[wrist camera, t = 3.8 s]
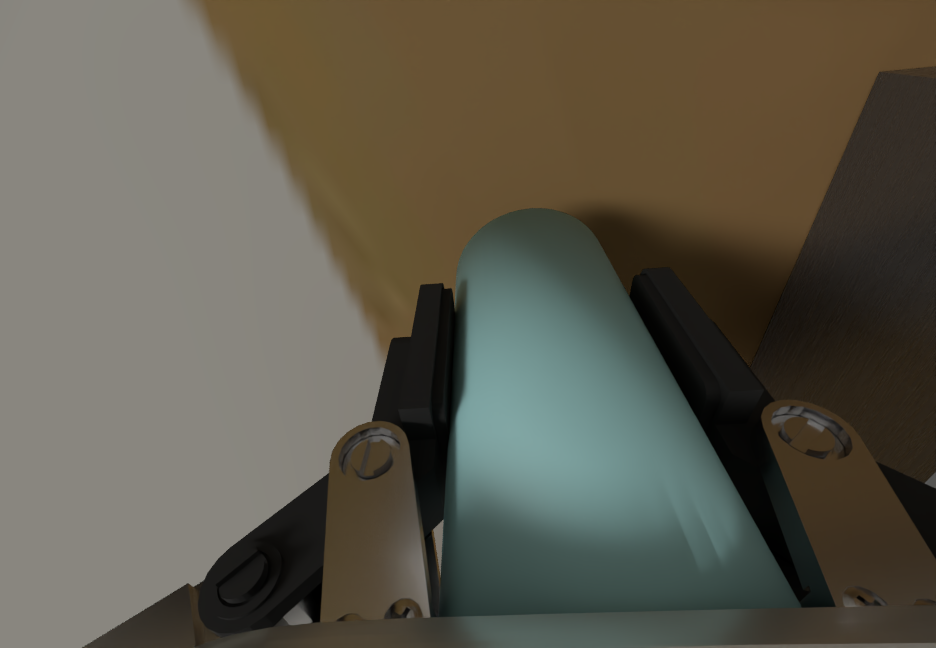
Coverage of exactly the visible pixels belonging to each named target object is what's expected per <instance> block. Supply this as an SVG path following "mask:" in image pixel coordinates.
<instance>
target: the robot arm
mask: <svg viewBox="0 0 936 648" xmlns="http://www.w3.org/2000/svg"><path fill="white" fill-rule="evenodd" d="M630 299H631V301H632V302H633V304H634V306H635V308H636V310H637V311H638V313H639V315H640V317H641V319H642V320H643V322H644V324H645V326H646V328H647V329H648V331H649V333H650V335H651V337H652V338H653V340H654V342H655V344H656V346H657V347H658V349H659V351H660V353H661V355H662V356H663V358H664V360H665V362H666V364H667V365H668V367H669V369H670V371H671V373H672V374H673V376H674V378H675V380H676V382H677V383H678V385H679V387H680V389H681V391H682V392H683V394H684V396H685V398H686V400H687V401H688V403H689V405H690V407H691V409H692V410H693V412H694V414H695V416H696V418H697V419H698V421H699V423H700V425H701V427H702V428H703V430H704V432H705V434H706V436H707V437H708V439H709V441H710V443H711V445H712V446H713V448H714V450H715V452H716V454H717V455H718V457H719V459H720V461H721V463H722V464H723V466H724V468H725V470H726V472H727V473H728V475H729V477H730V479H731V481H732V482H733V484H734V486H735V488H736V490H737V491H738V493H739V495H740V497H741V499H742V500H743V502H744V504H745V506H746V508H747V509H748V511H749V513H750V515H751V517H752V518H753V520H754V522H755V524H756V526H757V527H758V529H759V531H760V533H761V535H762V536H763V538H764V540H765V542H766V544H767V545H768V547H769V549H770V551H771V553H772V554H773V556H774V558H775V560H776V562H777V563H778V565H779V567H780V569H781V571H782V572H783V574H784V576H785V578H786V580H787V581H788V583H789V585H790V587H791V589H792V590H793V592H794V594H795V596H796V598H797V599H798V601H799V603H800V605H801V607H802V608H766V609H724V610H682V611H642V612H603V613H564V614H530V615H496V616H463V617H439V600H440V581H441V578H440V571H439V565H438V559H437V552H436V545H435V538H434V532H433V529H434V528H435V527H436V526H437V525H438V524H439V523H440V522H441V521H442V520H443V519H444V504H445V485H446V466H447V449H448V441H449V429H450V408H451V388H452V368H453V348H454V328H455V308H454V300H453V293H452V289H451V288H450V289H444V285H443V283H439V284H425V285H421V286H420V290H419V296H418V301H417V307H416V312H415V318H414V323H413V329H412V335H411V337H400V338H393V339H392V340H391V343H390V347H389V351H388V355H387V360H386V364H385V368H384V372H383V376H382V381H381V385H380V389H379V393H378V397H377V402H376V406H375V410H374V414H373V418H372V422H367V423H365V424H362V425H359V426H357V427H355V428H353V429H352V430H350V431H349V432H347V433H346V434H345V435H344V436H343V437H342V438H341V439H340V440H339V441H338V442H337V444H336V446H335V447H334V449H333V451H332V454H331V459H330V466H329V467H330V468H329V473H328V474H327V475H326V476H324V477H323V478H322V479H321V480H319V481H318V482H316V483H315V484H314V485H313V486H311V487H310V488H308V489H307V490H306V491H304V492H303V493H302V494H300V495H299V496H298V497H297V498H295V499H294V500H293V501H291V502H290V503H289V504H287V505H286V506H285V507H283V508H282V509H281V510H279V511H278V512H277V513H275V514H274V515H273V516H272V517H270V518H269V519H267V520H266V521H265V522H263V523H262V524H261V525H259V526H258V527H257V528H255V529H254V530H253V531H252V532H250V533H249V534H248V535H246V536H245V537H244V538H242V539H241V540H240V541H238V542H237V543H236V544H234V545H233V546H232V547H230V548H229V549H228V550H227V551H226V552H225V553H224V554H223V555H222V556H221V557H220V558H219V559H218V560H217V561H216V563H215V564H214V565H213V566H212V568H211V569H210V571H209V572H208V573H207V576H206V578H205V580H204V581H202V582H200V583H199V584H197V585H196V586H194V587H193V586H191V585H190V584H189V583H187V584H186V585H184V586H182V587H181V588H179V589H177V590H176V591H174V592H173V593H171V594H169V595H168V596H166V597H164V598H163V599H161V600H159V601H158V602H156V603H154V604H153V605H151V606H150V607H148V608H146V609H144V610H143V611H141V612H140V613H138V614H136V615H135V616H133V617H132V618H130V619H128V620H126V621H125V622H123V623H121V624H120V625H118V626H116V627H115V628H113V629H112V630H110V631H108V632H107V633H105V634H103V635H102V636H100V637H99V638H97V639H95V640H93V641H92V642H90V643H89V644H87V645H85V646H84V647H82V648H936V488H934V487H931V486H929V485H927V484H925V483H923V482H920V481H918V480H916V479H914V478H912V477H909V476H907V475H905V474H903V473H901V472H898V471H896V470H894V469H892V468H890V467H887V466H885V465H883V464H881V463H878V462H876V461H875V460H874V458H873V457H872V455H871V454H870V452H869V450H868V449H867V447H866V445H865V444H864V442H863V441H862V439H861V437H860V436H859V435H858V434H857V432H856V431H855V430H854V429H853V427H852V426H851V425H849V424H848V423H847V422H846V421H844V420H843V419H842V418H841V417H839V416H838V415H836V414H834V413H832V412H830V411H829V410H827V409H825V408H822V407H820V406H817V405H814V404H812V403H809V402H803V401H798V400H779V401H775V400H774V399H773V397H772V396H771V395H770V393H769V392H768V391H767V390H766V388H765V387H764V386H763V384H762V383H761V382H760V381H759V379H758V378H757V377H756V375H755V374H754V373H753V372H752V370H751V369H750V368H749V366H748V365H747V364H746V363H745V361H744V360H743V359H742V357H741V356H740V355H739V354H738V352H737V351H736V350H735V348H734V347H733V346H732V345H731V343H730V342H729V341H728V339H727V338H726V337H725V336H724V334H723V333H722V332H721V330H720V329H719V328H718V327H717V325H716V324H715V323H714V322H713V321H712V320H711V319H709V318H708V316H707V315H706V314H705V312H704V311H703V310H702V308H701V307H700V306H699V305H698V303H697V302H696V301H695V299H694V298H693V297H692V296H691V294H690V293H689V292H688V290H687V289H686V288H685V286H684V285H683V284H682V283H681V281H680V280H679V279H678V277H677V276H676V275H675V273H674V272H673V271H672V270H671V269H670V268H668V267H664V268H650V269H643V270H642V272H641V274H640V275H636V276H634V278H633V281H632V286H631V292H630Z"/></svg>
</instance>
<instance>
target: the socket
mask: <svg viewBox="0 0 936 648" xmlns="http://www.w3.org/2000/svg"><path fill="white" fill-rule="evenodd" d="M750 369H751V370H752V372H753V373H754V374H755V375H756V377H757V378H758V379H759V381H760V382H761V383H762V384H763V386H764V387H765V388H766V390H767V391H768V392H769V393H770V395H771V396H772V397H773V399H774V400H775V401H779V400H798V401H803V402H809V403H812V404H814V405H817V406H820V407H822V408H825V409H827V410H829V411H830V412H832V413H834V414H836V415H838V416H839V417H841V418H842V419H843V420H844V421H846V422H847V423H848V424H849V425H851V426H852V427H853V429H854V430H855V431H856V432H857V434H858V435H859V436H860V437H861V439H862V441H863V442H864V444H865V445H866V447H867V449H868V450H869V452H870V454H871V455H872V457H873V458H874V460H875V461H876V462H878V463H881V464H883V465H885V466H887V467H890V468H892V469H894V470H896V471H898V472H901V473H903V474H905V475H907V476H909V477H912V478H914V479H916V480H918V481H920V482H923V483H925V484H927V485H929V486H931V487H934V488H936V67H926V68H916V69H905V70H895V71H884V72H879V74H878V76H877V79H876V81H875V83H874V85H873V88H872V90H871V92H870V95H869V97H868V99H867V101H866V104H865V106H864V108H863V111H862V113H861V115H860V118H859V120H858V122H857V124H856V127H855V129H854V131H853V134H852V136H851V138H850V140H849V143H848V145H847V147H846V150H845V152H844V154H843V157H842V159H841V161H840V163H839V166H838V168H837V170H836V173H835V175H834V177H833V179H832V182H831V184H830V186H829V189H828V191H827V193H826V195H825V198H824V200H823V202H822V205H821V207H820V209H819V212H818V214H817V216H816V218H815V221H814V223H813V225H812V228H811V230H810V232H809V234H808V237H807V239H806V241H805V244H804V246H803V248H802V250H801V253H800V255H799V257H798V260H797V262H796V264H795V267H794V269H793V271H792V273H791V276H790V278H789V280H788V283H787V285H786V287H785V289H784V292H783V294H782V296H781V299H780V301H779V303H778V306H777V308H776V310H775V312H774V315H773V317H772V319H771V322H770V324H769V326H768V328H767V331H766V333H765V335H764V338H763V340H762V342H761V344H760V347H759V349H758V351H757V354H756V356H755V358H754V361H753V363H752V365H751V367H750Z"/></svg>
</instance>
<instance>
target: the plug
mask: <svg viewBox="0 0 936 648" xmlns="http://www.w3.org/2000/svg"><path fill="white" fill-rule="evenodd" d="M766 608H802V607H801V605H800V603H799V601H798V599H797V598H796V596H795V594H794V592H793V590H792V589H791V587H790V585H789V583H788V581H787V580H786V578H785V576H784V574H783V572H782V571H781V569H780V567H779V565H778V563H777V562H776V560H775V558H774V556H773V554H772V553H771V551H770V549H769V547H768V545H767V544H766V542H765V540H764V538H763V536H762V535H761V533H760V531H759V529H758V527H757V526H756V524H755V522H754V520H753V518H752V517H751V515H750V513H749V511H748V509H747V508H746V506H745V504H744V502H743V500H742V499H741V497H740V495H739V493H738V491H737V490H736V488H735V486H734V484H733V482H732V481H731V479H730V477H729V475H728V473H727V472H726V470H725V468H724V466H723V464H722V463H721V461H720V459H719V457H718V455H717V454H716V452H715V450H714V448H713V446H712V445H711V443H710V441H709V439H708V437H707V436H706V434H705V432H704V430H703V428H702V427H701V425H700V423H699V421H698V419H697V418H696V416H695V414H694V412H693V410H692V409H691V407H690V405H689V403H688V401H687V400H686V398H685V396H684V394H683V392H682V391H681V389H680V387H679V385H678V383H677V382H676V380H675V378H674V376H673V374H672V373H671V371H670V369H669V367H668V365H667V364H666V362H665V360H664V358H663V356H662V355H661V353H660V351H659V349H658V347H657V346H656V344H655V342H654V340H653V338H652V337H651V335H650V333H649V331H648V329H647V328H646V326H645V324H644V322H643V320H642V319H641V317H640V315H639V313H638V311H637V310H636V308H635V306H634V304H633V302H632V301H631V299H630V297H629V295H628V293H627V292H626V290H625V288H624V286H623V284H622V283H621V281H620V279H619V277H618V275H617V274H616V272H615V270H614V268H613V266H612V265H611V263H610V261H609V259H608V257H607V256H606V254H605V252H604V250H603V248H602V247H601V245H600V243H599V241H598V240H597V238H596V237H595V235H594V234H593V232H592V231H591V230H590V229H589V228H588V227H587V226H586V225H585V224H583V223H582V222H581V221H580V220H578V219H576V218H574V217H573V216H571V215H568V214H566V213H563V212H560V211H556V210H552V209H543V208H530V209H523V210H518V211H514V212H510V213H507V214H505V215H503V216H500V217H498V218H496V219H494V220H493V221H491V222H489V223H488V224H486V225H485V226H484V227H482V228H481V229H480V230H479V231H478V232H477V233H476V234H475V235H474V236H473V237H472V238H471V240H470V241H469V242H468V244H467V245H466V247H465V249H464V250H463V252H462V255H461V257H460V259H459V263H458V267H457V275H456V294H455V328H454V348H453V368H452V388H451V408H450V429H449V441H448V449H447V466H446V485H445V504H444V525H443V544H442V563H441V581H440V600H439V617H463V616H496V615H530V614H564V613H603V612H642V611H682V610H724V609H766Z"/></svg>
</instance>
